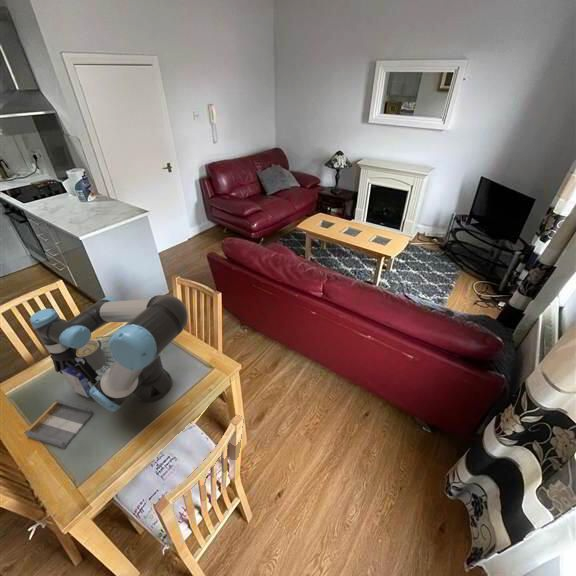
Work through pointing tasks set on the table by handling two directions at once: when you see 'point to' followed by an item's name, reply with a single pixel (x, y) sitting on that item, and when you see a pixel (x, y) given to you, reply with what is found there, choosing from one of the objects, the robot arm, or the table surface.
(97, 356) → the coffee mug
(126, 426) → the table surface
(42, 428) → the grey tray
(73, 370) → the ink cartridge box
